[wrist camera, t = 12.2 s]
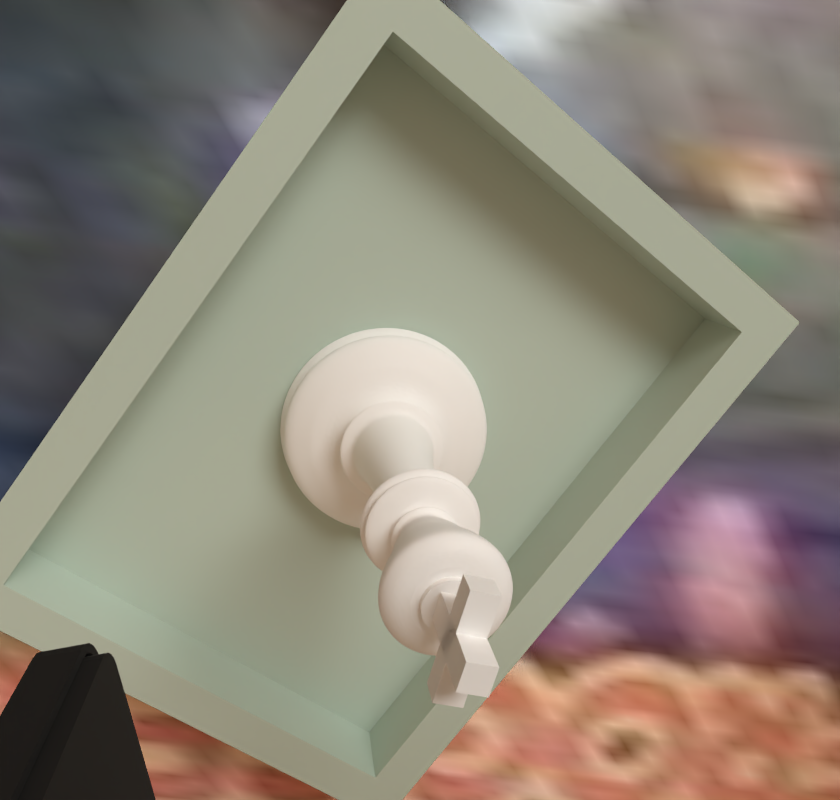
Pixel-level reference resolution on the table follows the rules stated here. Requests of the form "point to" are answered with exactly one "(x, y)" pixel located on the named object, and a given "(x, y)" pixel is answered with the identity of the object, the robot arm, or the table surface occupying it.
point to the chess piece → (406, 491)
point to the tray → (340, 316)
